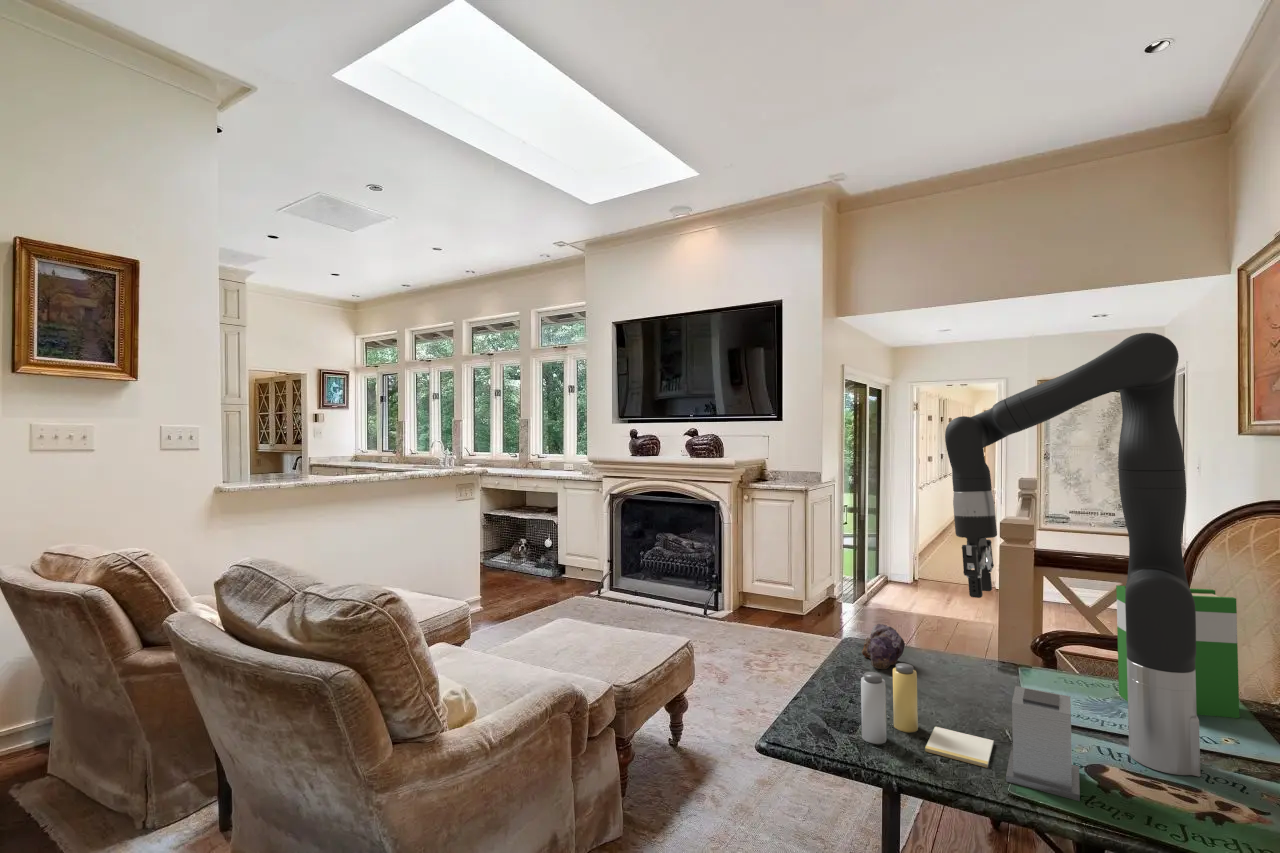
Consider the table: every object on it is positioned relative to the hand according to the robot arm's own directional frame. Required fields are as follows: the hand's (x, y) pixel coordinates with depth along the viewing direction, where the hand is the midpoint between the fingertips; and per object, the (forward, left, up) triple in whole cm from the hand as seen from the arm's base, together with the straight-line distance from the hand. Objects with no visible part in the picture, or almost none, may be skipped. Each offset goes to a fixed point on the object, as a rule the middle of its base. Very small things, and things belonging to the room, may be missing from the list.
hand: (981, 593), depth 125 cm
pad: (+2, +15, -25) cm, 30 cm away
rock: (+24, -21, -26) cm, 41 cm away
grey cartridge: (+16, +20, -25) cm, 36 cm away
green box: (-33, -29, -26) cm, 51 cm away
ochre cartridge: (+12, +12, -25) cm, 31 cm away
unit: (-11, +18, -25) cm, 33 cm away
